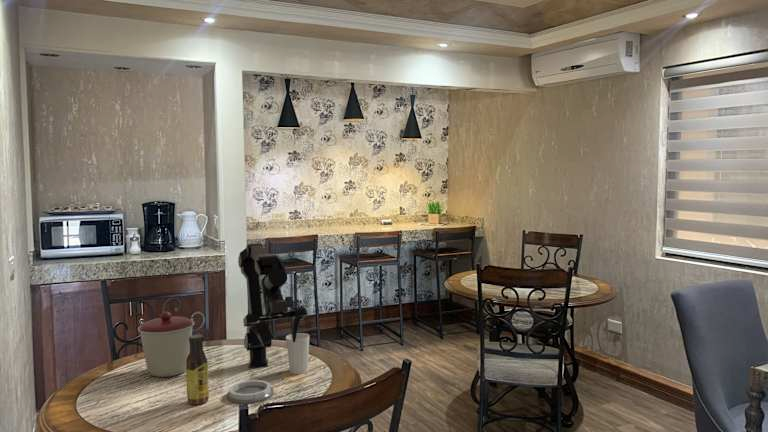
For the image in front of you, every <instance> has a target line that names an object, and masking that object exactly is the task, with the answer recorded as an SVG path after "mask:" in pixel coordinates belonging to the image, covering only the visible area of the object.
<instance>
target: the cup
mask: <svg viewBox="0 0 768 432" xmlns="http://www.w3.org/2000/svg"><path fill="white" fill-rule="evenodd" d="M285 343H286V349H287V356H288V364H289V373H290V374H291V375H292V374H293V375H303V374H306V373H308V372H309V354H310V353H309V352H310V350H309V349H310V334H309V333H306V332H305V333H303V332H302V333H301V332H299V333H298V332H297V334H296V340H295V342H294V343H293V340H292V333H290V334H287V335H285Z"/></svg>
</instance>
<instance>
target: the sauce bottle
mask: <svg viewBox="0 0 768 432" xmlns="http://www.w3.org/2000/svg"><path fill="white" fill-rule="evenodd" d="M203 341H204V336H203V335H202V334H192V336H190V337H189V342H190V353H189V355H188V357H187V359H186V371H185V374H186V397H187V402H188V404H189V405H192V406H197V405H202V404H205V403H207V402H208V401H209V396H210V389H209V388H210V386H209V383H210V382H209V363H208V362H209V361H208V359H207V356H206V354H205V352H204V347H203V344H204V343H203Z"/></svg>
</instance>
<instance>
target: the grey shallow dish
mask: <svg viewBox="0 0 768 432" xmlns="http://www.w3.org/2000/svg"><path fill="white" fill-rule="evenodd" d="M274 393H275V392H274V388H273V386H271V383H270V382H268V381H267V380H261V379H260V380H259V379H252V380H244V381H240V382H237V383H236V382H235V383H234V384H232V385H231V386H230V387H229V391H227V393H226V400H227V401H228V402H230V403H233V404H239V405H248V404H249V405H250V404H256V403H261V402H263V401H266V400H268V399H270V398H271V397H272V396H273V395H274Z"/></svg>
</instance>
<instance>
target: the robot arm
mask: <svg viewBox="0 0 768 432" xmlns="http://www.w3.org/2000/svg"><path fill="white" fill-rule="evenodd" d="M278 256H279V255H277V254H275V253H268V251H267V250H265V248H264V247H263V244H262V243H260V242H259V243H249V244H246V247H245V249H243V250H242V251H240V252H239V255H238V260H237V261H238V262H237V263H238V268H240V274H242V276H244V277H243V278H245V279H246V289H247V300H248V310H249V312H248V313H247V314H246V315H245V316H244V318H243V327H244V328H245V327H246V333H245V335H244V339H243V340H244V341H243V346H244V349H245V350H246V351H248V352H249V361H248V362H249V363H248V368H260V367H268V364H269V359H268V358H267V348H272V340H273V333H272V332H271V329H270V326H269V324H268V321H275V320H281V319H283V320H284V319H288V318H290V319H291V320H290V322H289V323H290V331H291V333H290V334H292V340H293V343H294V342H295V340H296V334H297V333H298V327H299V324H300V322H301V321H302V320H304V318H305V317H307V316H308V310H307V309H306V307H305V306H301V307H300V306H299V307H294V298H293V296H285V298H284V297H283V294H282V287H284V285H286V283H287V281H288V274H287V272H286V271H285V270H286V266H285V265H284V264H283V262H282V260H281V258H280V257H278ZM260 276H263V278H262V279H261V281H260ZM261 291H262V293H261ZM262 299H263V304H262ZM263 305H264V306H263ZM263 307H264V312H265V313H263ZM289 308H290V309H291V308H292V309H291V310H290V311H289Z"/></svg>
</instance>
